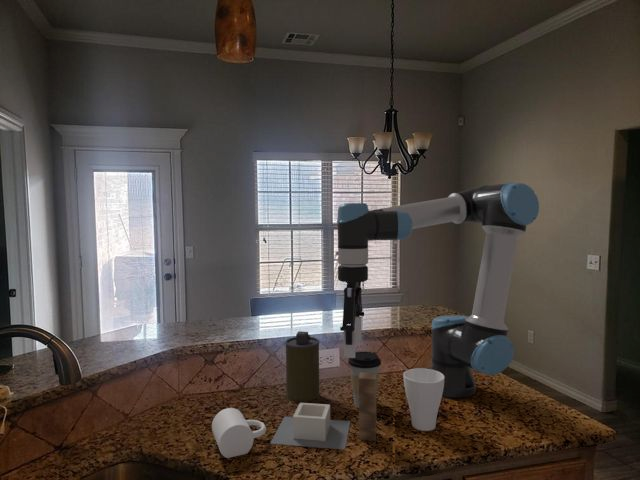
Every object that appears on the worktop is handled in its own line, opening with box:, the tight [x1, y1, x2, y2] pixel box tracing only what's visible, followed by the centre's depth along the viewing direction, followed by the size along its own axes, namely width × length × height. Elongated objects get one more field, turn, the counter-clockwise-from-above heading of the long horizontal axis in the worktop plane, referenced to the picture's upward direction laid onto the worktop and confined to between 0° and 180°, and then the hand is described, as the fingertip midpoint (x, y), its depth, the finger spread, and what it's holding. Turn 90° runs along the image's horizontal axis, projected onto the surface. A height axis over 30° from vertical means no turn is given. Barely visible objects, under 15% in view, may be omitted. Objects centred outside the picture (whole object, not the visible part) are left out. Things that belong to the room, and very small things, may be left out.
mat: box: [269, 416, 351, 450], centre depth 110 cm, size 18×14×1 cm
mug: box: [211, 407, 267, 459], centre depth 104 cm, size 12×10×8 cm
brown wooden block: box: [358, 372, 377, 442], centre depth 107 cm, size 4×4×16 cm
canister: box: [284, 331, 321, 403], centre depth 132 cm, size 11×10×20 cm
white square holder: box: [292, 402, 331, 441], centre depth 110 cm, size 8×8×6 cm
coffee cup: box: [347, 351, 382, 409], centre depth 125 cm, size 9×9×15 cm
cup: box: [402, 367, 445, 432], centre depth 114 cm, size 10×10×14 cm
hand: (353, 348), depth 110 cm, fingers open, 13 cm apart
